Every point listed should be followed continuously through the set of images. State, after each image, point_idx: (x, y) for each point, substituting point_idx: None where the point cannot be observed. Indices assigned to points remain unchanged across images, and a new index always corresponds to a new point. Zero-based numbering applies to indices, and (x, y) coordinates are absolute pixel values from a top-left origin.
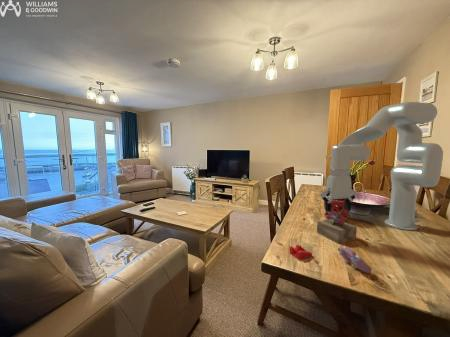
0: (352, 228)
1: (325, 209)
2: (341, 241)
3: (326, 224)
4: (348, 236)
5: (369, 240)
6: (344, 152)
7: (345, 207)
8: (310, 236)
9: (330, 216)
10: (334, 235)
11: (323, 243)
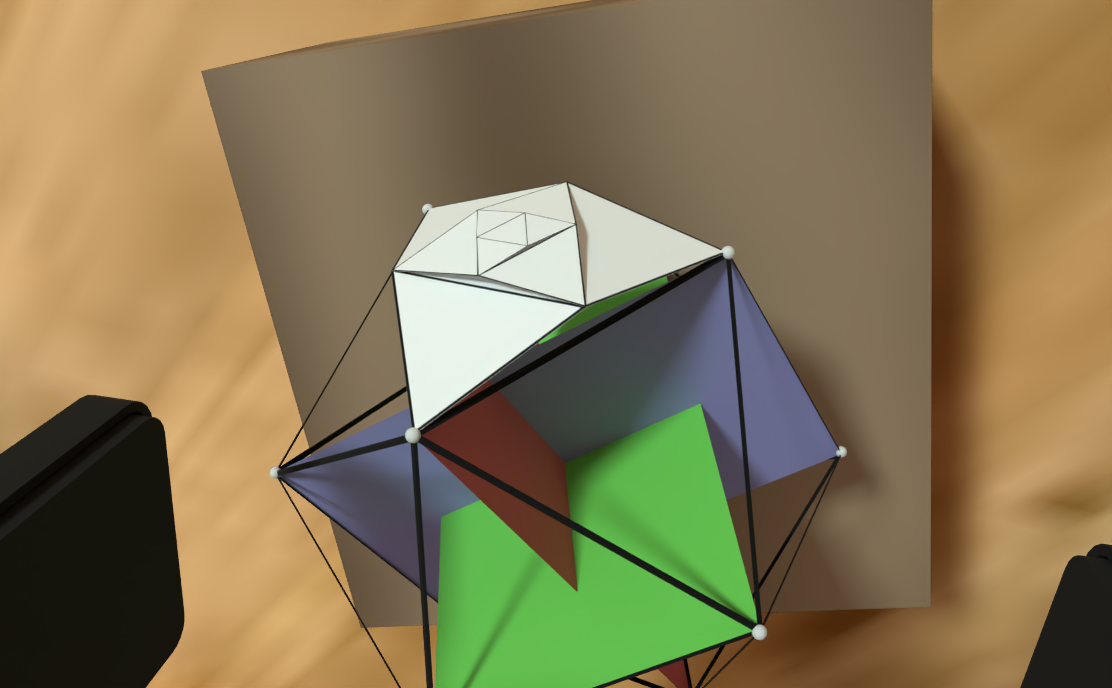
0: (780, 600)
1: (90, 414)
2: None
3: (320, 311)
4: None
5: (1063, 546)
6: None
7: (1081, 658)
8: (119, 156)
9: (303, 470)
10: None
11: (210, 418)
